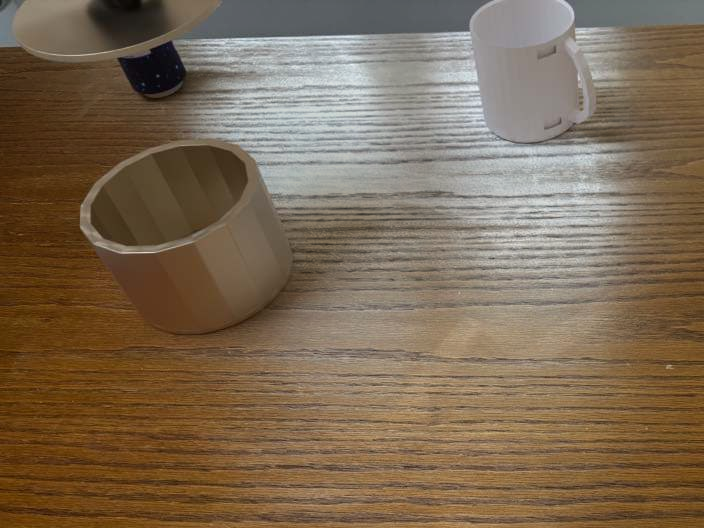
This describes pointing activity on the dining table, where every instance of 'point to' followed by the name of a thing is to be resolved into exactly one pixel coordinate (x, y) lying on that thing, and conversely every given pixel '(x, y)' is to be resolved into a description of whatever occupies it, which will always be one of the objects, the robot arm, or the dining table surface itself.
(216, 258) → the pot
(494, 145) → the dining table surface
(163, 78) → the beverage can
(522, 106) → the mug
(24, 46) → the lid
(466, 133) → the dining table surface
